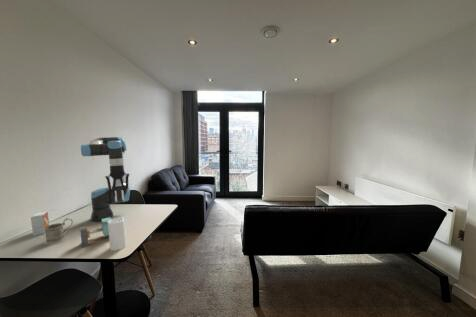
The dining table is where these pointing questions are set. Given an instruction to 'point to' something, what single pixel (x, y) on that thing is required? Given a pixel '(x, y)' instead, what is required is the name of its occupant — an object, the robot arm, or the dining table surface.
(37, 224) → the small box
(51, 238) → the mug
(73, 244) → the dining table surface
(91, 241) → the rail
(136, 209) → the dining table surface
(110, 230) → the cup
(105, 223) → the sleeve
